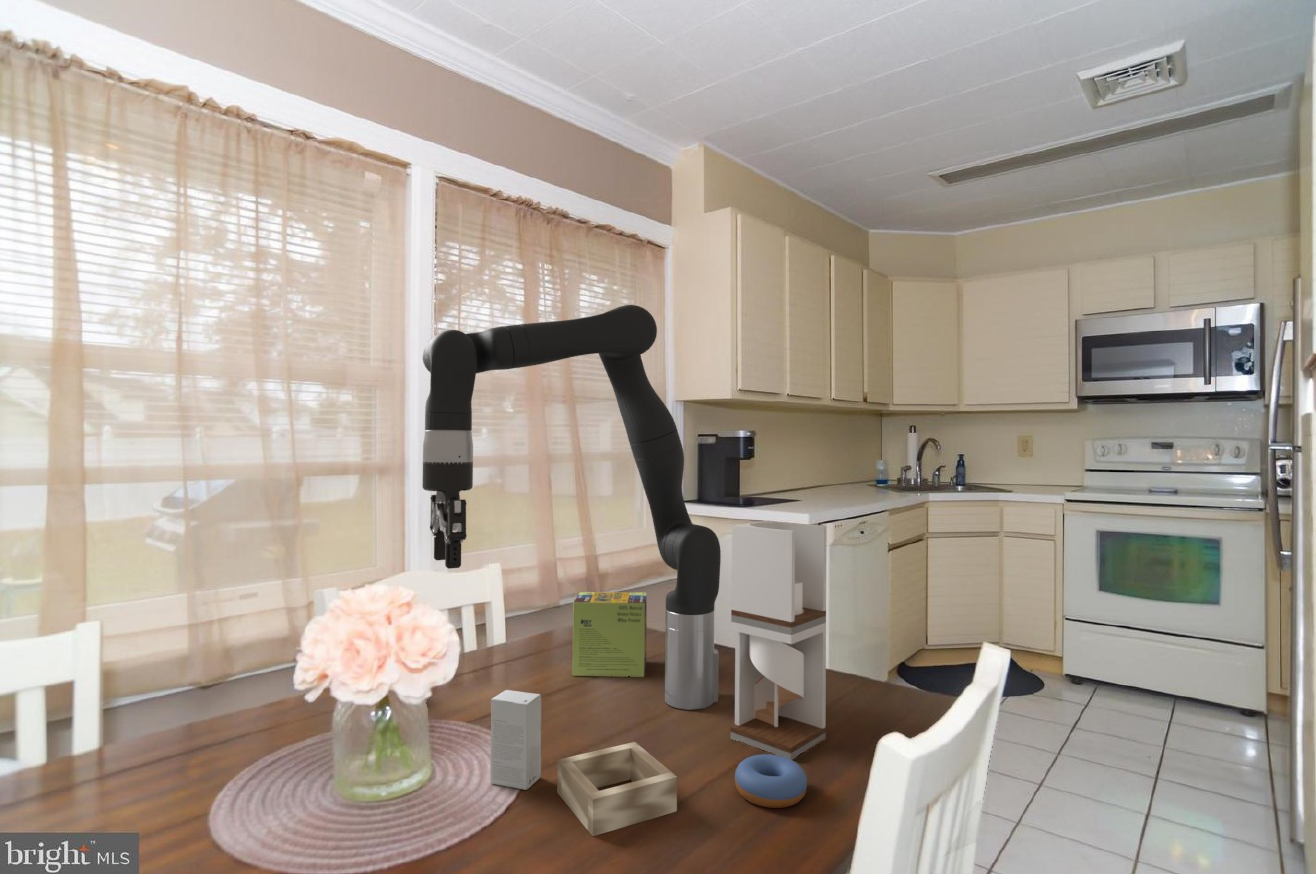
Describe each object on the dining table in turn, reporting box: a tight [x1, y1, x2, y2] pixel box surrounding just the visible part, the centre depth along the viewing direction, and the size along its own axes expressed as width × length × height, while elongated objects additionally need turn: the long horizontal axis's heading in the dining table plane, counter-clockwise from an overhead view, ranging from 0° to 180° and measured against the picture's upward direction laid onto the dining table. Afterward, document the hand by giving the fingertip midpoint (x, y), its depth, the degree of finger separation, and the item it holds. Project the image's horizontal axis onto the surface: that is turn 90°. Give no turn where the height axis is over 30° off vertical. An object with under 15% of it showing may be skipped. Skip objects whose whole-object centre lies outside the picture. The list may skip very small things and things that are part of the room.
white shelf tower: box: [730, 520, 827, 761], centre depth 111 cm, size 11×11×35 cm
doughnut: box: [734, 753, 808, 809], centre depth 94 cm, size 10×10×5 cm
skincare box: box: [490, 689, 542, 791], centre depth 97 cm, size 6×4×12 cm
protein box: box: [571, 591, 648, 678], centre depth 146 cm, size 10×15×16 cm
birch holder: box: [556, 741, 678, 837], centre depth 91 cm, size 12×12×4 cm
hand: (446, 563), depth 106 cm, fingers open, 8 cm apart
